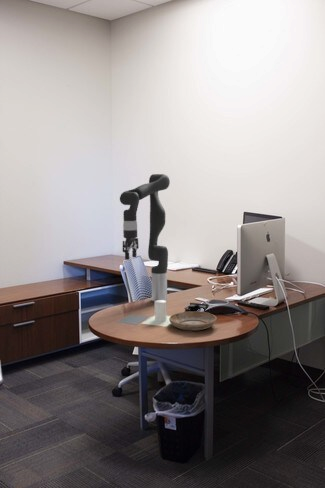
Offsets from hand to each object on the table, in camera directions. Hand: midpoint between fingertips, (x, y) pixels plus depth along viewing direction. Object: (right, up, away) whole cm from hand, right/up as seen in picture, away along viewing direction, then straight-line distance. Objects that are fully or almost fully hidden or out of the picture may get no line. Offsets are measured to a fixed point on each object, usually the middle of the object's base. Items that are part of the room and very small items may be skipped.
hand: (130, 258), depth 281 cm
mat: (+2, -32, -11) cm, 34 cm away
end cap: (+37, -31, -5) cm, 48 cm away
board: (+16, -32, -14) cm, 39 cm away
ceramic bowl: (+33, -34, -24) cm, 53 cm away
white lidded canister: (+16, -32, -14) cm, 38 cm away
